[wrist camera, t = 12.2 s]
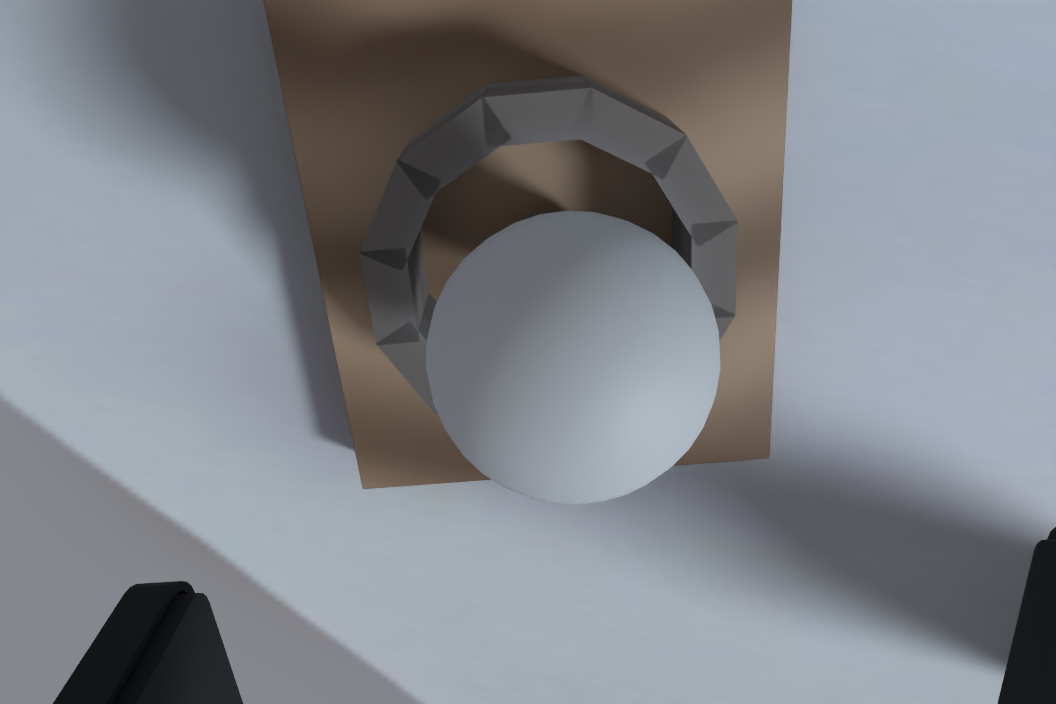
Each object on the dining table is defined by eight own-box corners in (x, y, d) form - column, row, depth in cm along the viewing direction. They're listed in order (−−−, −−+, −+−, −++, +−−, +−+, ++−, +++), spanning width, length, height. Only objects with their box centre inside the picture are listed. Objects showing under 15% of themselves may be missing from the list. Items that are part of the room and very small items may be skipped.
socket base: (280, -19, 23) (221, -20, 18) (772, -65, 22) (837, -77, 18) (372, 458, 30) (345, 544, 25) (753, 428, 29) (796, 511, 25)
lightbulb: (444, 323, 25) (393, 547, 15) (468, 126, 23) (427, 239, 13) (634, 351, 26) (707, 586, 16) (679, 160, 23) (800, 295, 13)
